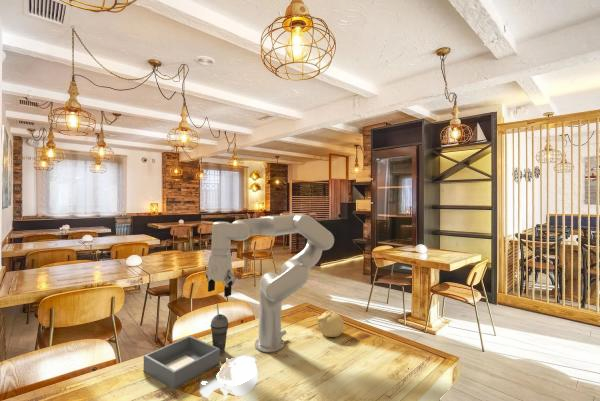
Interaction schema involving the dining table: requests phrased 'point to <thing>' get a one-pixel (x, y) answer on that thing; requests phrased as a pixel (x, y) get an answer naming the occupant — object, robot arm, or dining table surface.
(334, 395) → the dining table surface
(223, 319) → the beverage cup
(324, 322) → the sculpture
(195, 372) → the walled bin
